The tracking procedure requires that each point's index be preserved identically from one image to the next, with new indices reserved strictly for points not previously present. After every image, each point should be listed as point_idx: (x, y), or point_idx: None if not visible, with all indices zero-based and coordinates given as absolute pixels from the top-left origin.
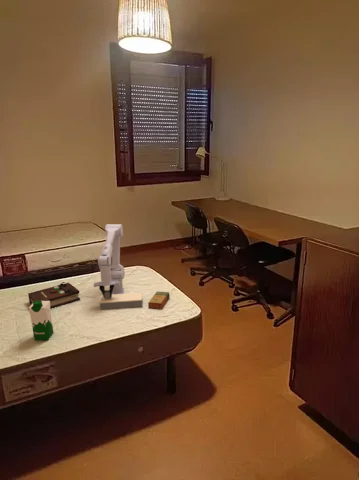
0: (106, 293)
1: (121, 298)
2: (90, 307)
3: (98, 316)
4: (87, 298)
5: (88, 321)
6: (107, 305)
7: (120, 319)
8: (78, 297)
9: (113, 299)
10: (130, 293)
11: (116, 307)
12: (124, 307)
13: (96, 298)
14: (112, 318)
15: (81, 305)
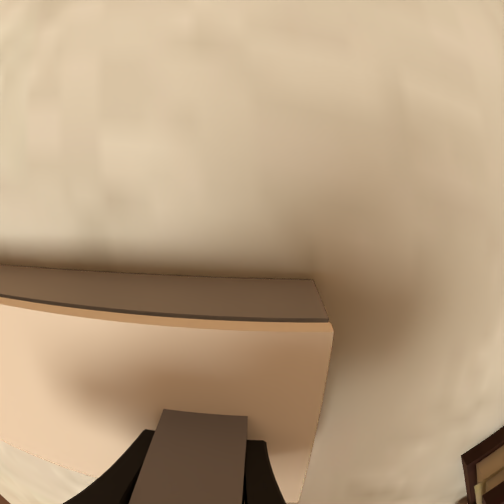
0: (199, 501)
1: (26, 379)
2: (423, 348)
3: (327, 83)
4: (410, 479)
5: (421, 6)
6: (207, 298)
7: (65, 9)
8: (470, 472)
9: (112, 389)
10: (6, 441)
11: (102, 277)
12: (32, 269)
13: (345, 485)
14: (141, 17)
15: (480, 386)
